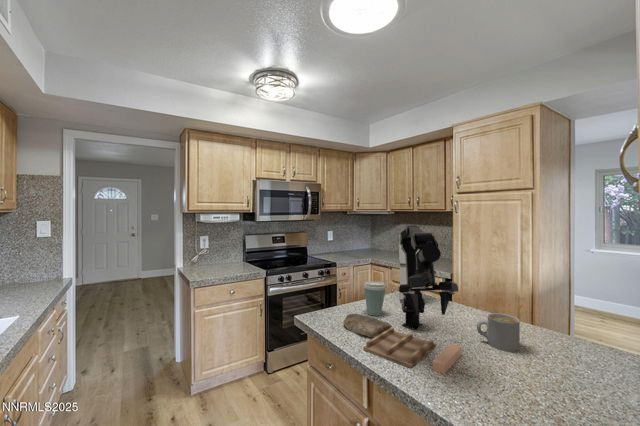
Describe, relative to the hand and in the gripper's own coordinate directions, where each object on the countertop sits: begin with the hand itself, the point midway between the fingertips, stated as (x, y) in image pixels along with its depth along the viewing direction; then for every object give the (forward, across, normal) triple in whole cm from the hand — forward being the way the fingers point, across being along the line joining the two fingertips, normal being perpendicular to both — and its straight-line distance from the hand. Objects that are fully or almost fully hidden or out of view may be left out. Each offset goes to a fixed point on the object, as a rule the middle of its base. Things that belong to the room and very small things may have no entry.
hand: (429, 314), depth 98 cm
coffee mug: (+9, +10, +32) cm, 35 cm away
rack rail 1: (+10, -22, +4) cm, 25 cm away
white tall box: (-9, -35, +54) cm, 65 cm away
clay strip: (+15, +1, +8) cm, 17 cm away
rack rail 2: (+13, -7, +5) cm, 16 cm away
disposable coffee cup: (-1, -40, +26) cm, 47 cm away
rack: (+11, -14, +5) cm, 19 cm away
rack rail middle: (+11, -14, +5) cm, 19 cm away
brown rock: (+6, -34, +10) cm, 36 cm away
